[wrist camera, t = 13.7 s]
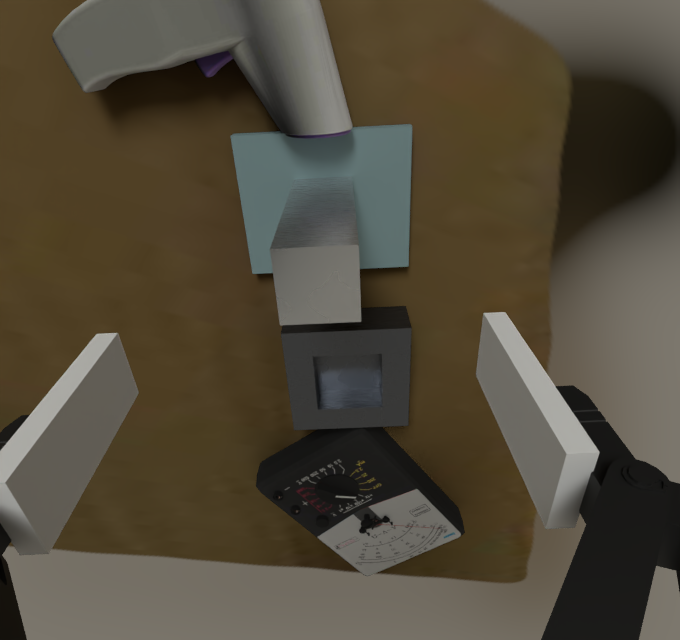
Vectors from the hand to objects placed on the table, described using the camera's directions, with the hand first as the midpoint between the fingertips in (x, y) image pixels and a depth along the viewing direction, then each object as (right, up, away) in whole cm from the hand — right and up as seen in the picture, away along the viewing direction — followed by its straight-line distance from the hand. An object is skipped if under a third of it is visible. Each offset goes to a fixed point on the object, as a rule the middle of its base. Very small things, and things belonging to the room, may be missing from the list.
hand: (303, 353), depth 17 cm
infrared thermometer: (-7, +17, +13) cm, 23 cm away
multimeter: (+4, -16, +33) cm, 37 cm away
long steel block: (0, +9, +16) cm, 19 cm away
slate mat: (0, +10, +17) cm, 20 cm away
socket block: (+2, -2, +24) cm, 24 cm away
